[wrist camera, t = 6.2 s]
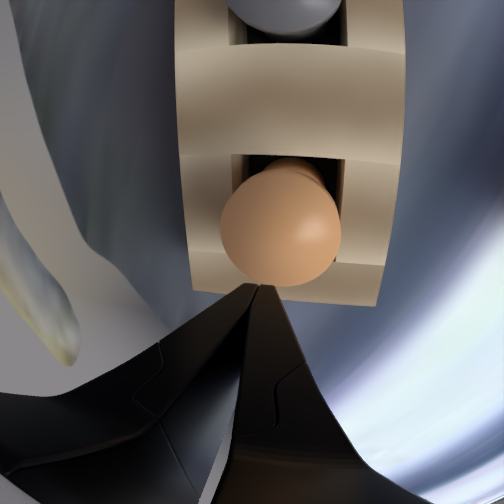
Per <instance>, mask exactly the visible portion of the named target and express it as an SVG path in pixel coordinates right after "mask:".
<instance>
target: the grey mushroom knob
mask: <svg viewBox="0 0 504 504" xmlns="http://www.w3.org/2000/svg"><path fill="white" fill-rule="evenodd" d="M225 2H226V3H227V5H228V6H229V8H230V9H231V10H232V11H233V12H234V13H235V14H236V15H237V16H238V17H239V18H240V19H242V20H243V21H244V22H245V23H247V24H248V25H250V26H252V27H254V28H255V29H258V30H261V31H263V32H264V33H265V34H266V35H267V36H268V37H269V38H270V39H272V40H274V41H275V42H278V43H290V44H308V43H310V42H312V41H314V40H316V39H317V38H318V37H319V36H320V35H322V33H323V32H324V30H325V29H326V26H327V23H328V20H329V19H330V18H331V17H332V16H333V15H334V14H335V12H336V11H337V9H338V7H339V6H340V3H341V0H225Z"/></svg>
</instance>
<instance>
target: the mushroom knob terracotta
mask: <svg viewBox="0 0 504 504" xmlns="http://www.w3.org/2000/svg"><path fill="white" fill-rule="evenodd" d="M220 235H221V240H222V244H223V247H224V249H225V252H226V253H227V255H228V257H229V258H230V260H231V261H232V263H233V264H234V265H235V266H236V267H237V268H238V269H239V270H240V271H241V272H243V273H244V274H245V275H247V276H248V277H250V278H252V279H254V280H256V281H258V282H260V283H263V284H267V285H274V286H278V287H289V286H296V285H301V284H304V283H307V282H309V281H311V280H313V279H315V278H316V277H318V276H319V275H321V274H322V273H323V272H324V271H325V270H326V269H327V268H328V267H329V266H330V265H331V263H332V262H333V260H334V259H335V257H336V255H337V252H338V250H339V246H340V241H341V226H340V220H339V214H338V210H337V207H336V205H335V202H334V200H333V198H332V197H331V195H330V194H329V192H328V191H327V190H326V185H325V181H324V179H323V176H322V175H321V173H320V172H319V170H318V169H317V168H316V167H315V166H314V165H312V164H311V163H309V162H308V161H306V160H303V159H300V158H296V157H285V158H280V159H277V160H275V161H273V162H272V163H270V164H269V165H268V166H266V167H265V169H264V170H263V171H262V172H260V173H258V174H256V175H253V176H252V177H250V178H249V179H247V180H246V181H245V182H243V183H242V184H241V185H240V186H239V188H238V189H237V190H236V191H235V192H234V193H233V195H232V196H231V197H230V198H229V200H228V202H227V203H226V205H225V207H224V209H223V212H222V216H221V221H220Z"/></svg>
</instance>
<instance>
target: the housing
mask: <svg viewBox="0 0 504 504" xmlns="http://www.w3.org/2000/svg"><path fill="white" fill-rule="evenodd" d="M339 22H340V46H335V45H320V44H290V43H274V44H247V23H245V22H244V21H243V20H242V19H240V18H239V17H238V16H237V15H236V14H235V13H234V12H233V11H232V10H231V9H230V8H229V6H228V5H227V3H226V2H225V0H175V83H176V108H177V127H178V144H179V158H180V172H181V184H182V195H183V206H184V216H185V226H186V235H187V244H188V253H189V261H190V269H191V277H192V285H193V290H196V291H204V292H213V293H222V294H228V293H230V292H231V291H233V290H234V289H236V288H237V287H238V286H240V285H241V284H243V283H255V284H258V285H259V286H260V285H261V284H263V283H260V282H258V281H256V280H254V279H252V278H250V277H248V276H247V275H245V274H244V273H243V272H241V271H240V270H239V269H238V268H237V267H236V266H235V265H234V264H233V263H232V261H231V260H230V258H229V257H228V255H227V253H226V252H225V249H224V247H223V244H222V240H221V235H220V221H221V216H222V212H223V209H224V207H225V205H226V203H227V202H228V200H229V198H230V197H231V196H232V195H233V193H234V192H235V191H236V190H237V189H238V188H239V186H240V185H241V184H242V183H243V182H245V181H246V180H247V179H249V154H256V155H286V156H306V157H322V158H335V159H338V167H337V182H336V196H335V205H336V207H337V210H338V214H339V220H340V226H341V241H340V246H339V250H338V252H337V255H336V257H335V259H334V260H333V262H332V263H331V265H330V266H329V267H328V268H327V269H326V270H325V271H324V272H323V273H322V274H321V275H319V276H318V277H316V278H315V279H313V280H311V281H309V282H307V283H304V284H301V285H296V286H289V287H278V286H275V287H276V289H277V292H278V294H279V296H280V299H282V300H293V301H305V302H317V303H330V304H344V305H359V306H376V302H377V297H378V293H379V289H380V285H381V280H382V275H383V271H384V266H385V261H386V256H387V251H388V246H389V240H390V235H391V229H392V223H393V217H394V210H395V204H396V197H397V189H398V181H399V173H400V163H401V153H402V142H403V128H404V110H405V31H404V14H403V2H402V0H341V3H340V6H339ZM266 285H267V284H266Z"/></svg>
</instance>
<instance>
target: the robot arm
mask: <svg viewBox="0 0 504 504" xmlns="http://www.w3.org/2000/svg"><path fill="white" fill-rule="evenodd" d="M235 404H236V408H235V415H234V422H233V429H232V439H231V444H230V450H229V455H228V459H227V462H226V465H225V468H224V471H223V473H222V476H221V479H220V481H219V483H218V486H217V489H216V491H215V494H214V496H213V499H212V501H211V504H433V503H431V502H429V501H427V500H426V499H424V498H422V497H420V496H418V495H416V494H414V493H413V492H411V491H409V490H407V489H405V488H404V487H402V486H400V485H398V484H397V483H395V482H393V481H391V480H390V479H388V478H386V477H385V476H383V475H381V474H380V473H378V472H376V471H375V470H374V469H372V468H371V467H370V466H369V465H368V464H367V463H366V462H365V461H364V460H363V459H362V458H361V456H360V455H359V454H358V452H357V451H356V449H355V448H354V446H353V445H352V443H351V442H350V440H349V438H348V437H347V435H346V434H345V432H344V431H343V429H342V427H341V426H340V424H339V423H338V421H337V419H336V418H335V416H334V415H333V413H332V411H331V410H330V408H329V407H328V405H327V403H326V401H325V399H324V398H323V396H322V394H321V392H320V391H319V389H318V386H317V384H316V382H315V380H314V378H313V376H312V373H311V371H310V369H309V366H308V364H307V362H306V359H305V357H304V354H303V352H302V350H301V347H300V345H299V342H298V340H297V337H296V335H295V333H294V330H293V328H292V325H291V323H290V320H289V318H288V316H287V313H286V311H285V308H284V306H283V304H282V301H281V299H280V296H279V294H278V292H277V289H276V287H275V286H274V285H266V284H261V285H260V286H259V285H258V284H255V283H243V284H241V285H240V286H238V287H237V288H236V289H234V290H233V291H231V292H230V293H228V294H227V295H226V296H224V297H223V298H221V299H220V300H218V301H217V302H215V303H214V304H212V305H211V306H210V307H208V308H207V309H205V310H204V311H202V312H201V313H199V314H198V315H196V316H195V317H194V318H192V319H191V320H189V321H188V322H186V323H185V324H183V325H182V326H180V327H179V328H177V329H176V330H175V331H173V332H172V333H170V334H169V335H167V336H166V337H164V338H163V339H161V340H160V341H159V343H158V342H157V343H155V344H154V345H152V346H151V347H149V348H148V349H146V350H145V351H143V352H141V353H140V354H138V355H137V356H135V357H133V358H132V359H130V360H128V361H127V362H125V363H123V364H121V365H119V366H118V367H116V368H114V369H113V370H111V371H108V372H106V373H105V374H103V375H101V376H99V377H97V378H95V379H93V380H91V381H89V382H87V383H85V384H83V385H81V386H79V387H77V388H75V389H73V390H71V391H69V392H67V393H64V394H61V395H57V396H49V397H39V396H28V395H18V394H9V393H2V392H0V504H198V502H199V498H200V497H201V494H202V492H203V489H204V486H205V484H206V482H207V479H208V476H209V474H210V471H211V469H212V466H213V463H214V461H215V458H216V455H217V453H218V450H219V447H220V445H221V442H222V439H223V437H224V434H225V431H226V429H227V426H228V423H229V420H230V418H231V415H232V412H233V409H234V407H235Z"/></svg>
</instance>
